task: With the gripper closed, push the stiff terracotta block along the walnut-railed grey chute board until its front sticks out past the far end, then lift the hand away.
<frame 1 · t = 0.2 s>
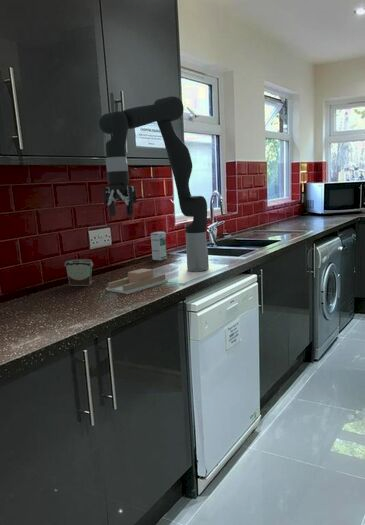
hand: (121, 215, 160), 28 cm above the worktop, fingers open, 8 cm apart
food container: (83, 284, 181), on the worktop
white pill bottle: (159, 259, 231), on the worktop
chute: (137, 286, 172), on the worktop
jammed block: (140, 276, 173), point 3 cm above the worktop, slide at 0.0 cm
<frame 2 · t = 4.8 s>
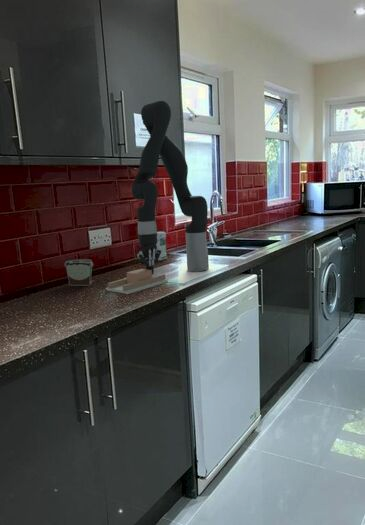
hand: (150, 274, 177), 3 cm above the worktop, fingers closed
jammed block: (139, 276, 173), point 3 cm above the worktop, slide at 0.7 cm, touching gripper
everything else where it was.
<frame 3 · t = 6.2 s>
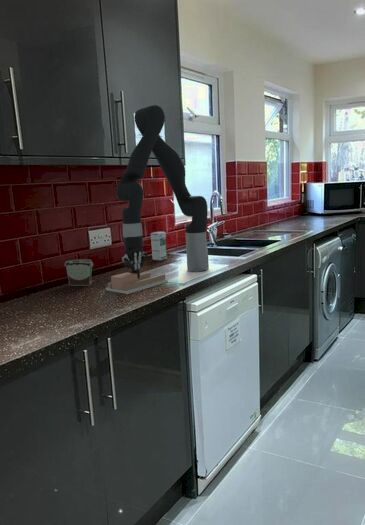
hand: (136, 278, 171), 3 cm above the worktop, fingers closed
jammed block: (124, 280, 167), point 3 cm above the worktop, slide at 8.7 cm, touching gripper
everything else where it was.
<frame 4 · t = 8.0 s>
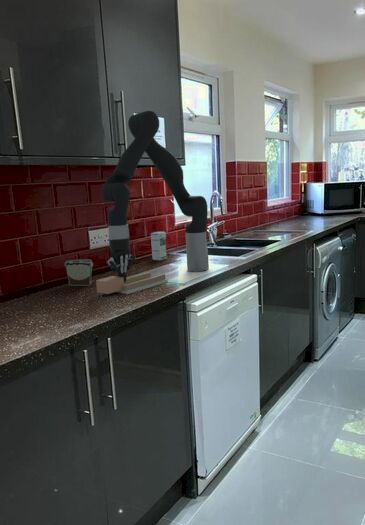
hand: (122, 282, 166), 3 cm above the worktop, fingers closed
jammed block: (110, 284, 161), point 3 cm above the worktop, slide at 15.9 cm, touching gripper
everything else where it was.
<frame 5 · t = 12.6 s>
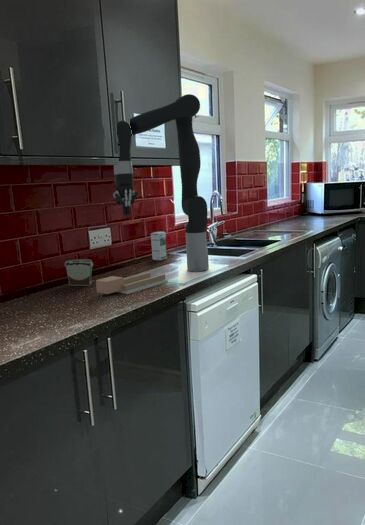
hand: (126, 215, 181), 27 cm above the worktop, fingers closed
jammed block: (110, 284, 161), point 3 cm above the worktop, slide at 16.0 cm
everything else where it was.
at the end: jammed block slide at 16.0 cm; the gripper is holding nothing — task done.
